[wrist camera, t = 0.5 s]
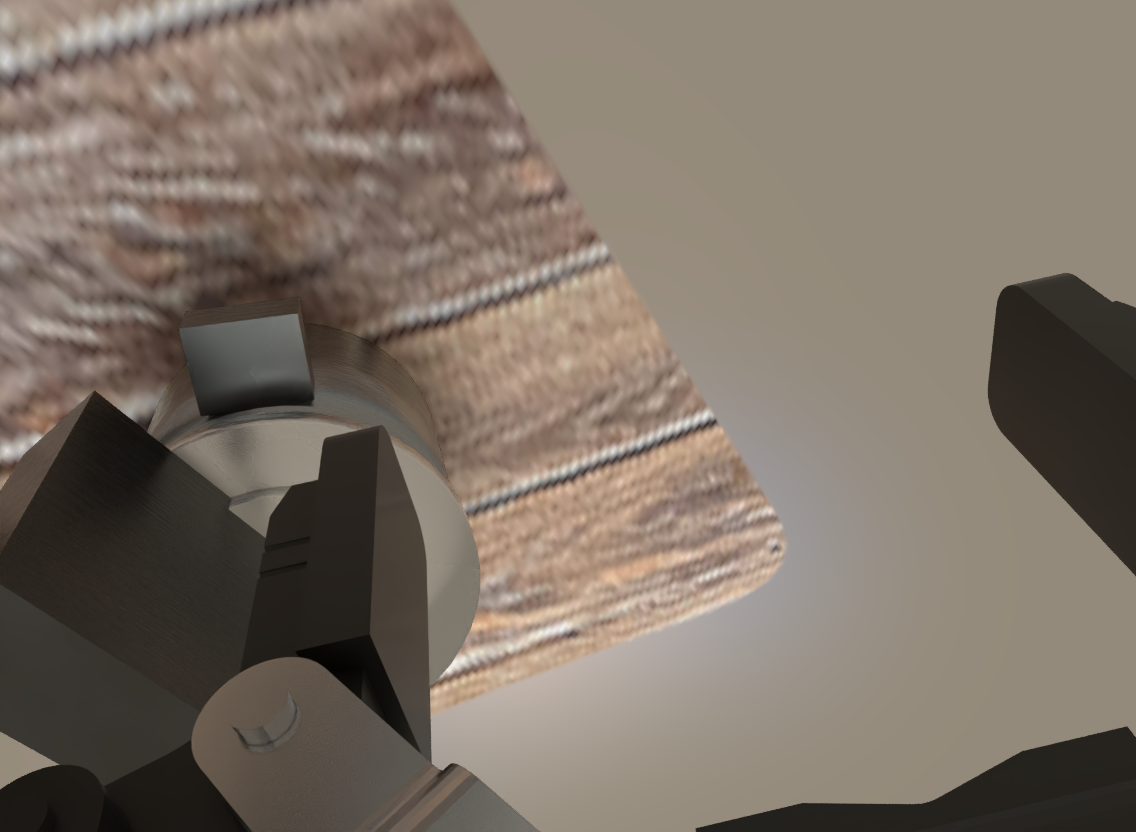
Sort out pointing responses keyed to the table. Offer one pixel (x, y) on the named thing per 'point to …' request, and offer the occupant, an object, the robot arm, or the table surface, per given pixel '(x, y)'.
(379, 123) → the table surface
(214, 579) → the pressure cooker lid
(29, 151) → the table surface
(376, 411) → the pressure cooker pot
